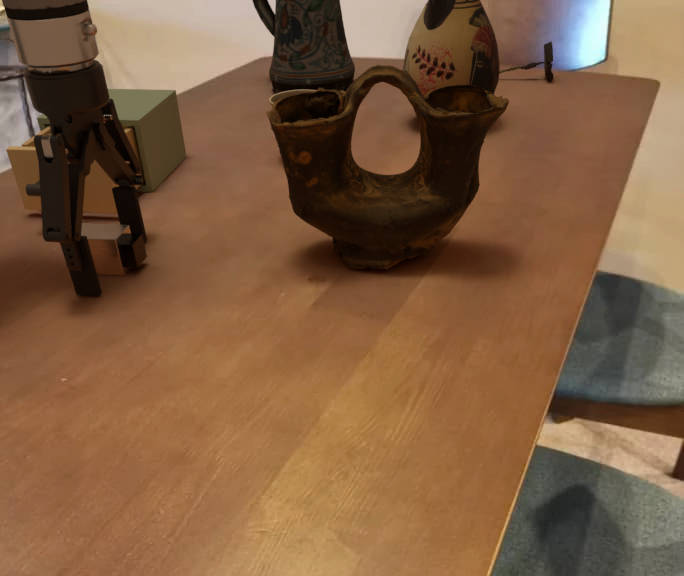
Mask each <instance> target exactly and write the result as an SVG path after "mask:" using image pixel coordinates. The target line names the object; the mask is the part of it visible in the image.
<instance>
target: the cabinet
mask: <svg viewBox="0 0 684 576" xmlns="http://www.w3.org/2000/svg"><path fill="white" fill-rule="evenodd" d="M108 92H109V99H113V101H114V104H115V108H116V111H117V115H118V118H119V120H120V123H121V125H122V126H134V127H135V132H136V137H137V142H138V147H139V152H140V156H141V161H142V166H143V171H144V176H145V181H144V182H143V184H142V185H140V186H139V187H138V188H137V189H136V191H137V192H142V193H153V192H154V191H155V190H157V188H159V186H160V185H161V184H162V183H163V182H164V181H165V180H166V179H167V178H168V177H169V176H170V175H171V174H172V173H173V172H174V170H175V169H176V168H177V167H178V166H179V165H181V163H182V162H183V161H184V160H185V159H186V158H187V152H186V146H185V137H184V133H183V132H184V131H183V126H182V121H181V114H180V109H179V102H178V97H177V91H176V89H142V88H141V89H140V88H108ZM36 120H37V123H38V127H39V130H40V131H39V132H41V131H42V130H44V129H45V128H47V127H48V126H50V123H49V119H48V118H47V117H46V116H45V115H44V114H42V113H41V115H39V116H37V117H36Z"/></svg>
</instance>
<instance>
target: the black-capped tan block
mask: <svg viewBox="0 0 684 576" xmlns="http://www.w3.org/2000/svg"><path fill="white" fill-rule="evenodd" d="M81 236H87V240H88V243H89V247H90V250H91V254H92V258H93V261H94V265H95V269H96V272H97V275H103V276H104V275H107V276H121V277H123V276H125V275H126V274H127V273H128V272H129V271H130V270H131V269H138V268H139V267H140V266H141V265H142V263H144V261H145V260H146V259H147V257H148V254H147V250H146V245H145V242H144V240H143V235H142V234H133V233H131V232H130V227H129V225H120V223H119V224H118V223H117V224H116V223H96V222H82V229H81Z"/></svg>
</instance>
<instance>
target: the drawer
mask: <svg viewBox="0 0 684 576" xmlns="http://www.w3.org/2000/svg"><path fill="white" fill-rule="evenodd" d="M122 127H123V129H124V131H125V133H126V135H127V137H128V140H129V142H130V144H131V146H132V148H133V150H134V152H135V154H136V156H137V159H138V161H139V163H140V165H141V168H142V171H141V174H136V175H142V177H143V182H144V181H145V176H144V171H143V166H142V161H141V156H140V152H139V147H138V142H137V137H136V132H135V127H134V126H122ZM49 134H50V126H48V127H47V128H45V129H44V130H42V131H39V132H38V133H36V134H35V135H49ZM35 135H34V136H35ZM34 136H32V137H30V138H29V139H27V140H26V141H24V142H23V143H21V146H19V145H18V146H17V145H15V146H14V145H11V146H9V147H7V148H6V149H5V151H6V155H7V158H8V160H9V163H10V166H11V170H12V173H13V176H14V179H15V182H16V186H17V188H18V191H19V194H20V197H21V201H22V204H23V207H24V210H27V211H41V195H40V178H39V161H38V157H37V153H36V149H35V145H34ZM125 162H126V163H130V162H129V161H125ZM68 164H70V163H69V162H68ZM139 186H140V185H135V187H136V189H137V188H138V187H139ZM113 187H119V185H116V184H115V183H114V182H113V181H112V180H111V178H110V177H109V176H108V175H107V174H106V172H105V171H104V170H103V169H102V168H101V166H100V165H99V164H98V163H97V162H96V160H94V162H93V164H91V169H90V173H89V175H87V176H86V177H85V188H84V202H83V213H93V214H95V213H96V214H115V215H116V214H117V215H118V213H117V209H116V205H115V201H114V197H113V193H112V188H113Z"/></svg>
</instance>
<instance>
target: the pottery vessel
mask: <svg viewBox="0 0 684 576" xmlns="http://www.w3.org/2000/svg"><path fill="white" fill-rule="evenodd" d="M380 83H385V84H388V85H389V86H392V87H394V88H397V89H398V90H400V91H401V93H402V95H404V96H405V97H406V98H407V97H408V99H407V101H408V100H409V101H408V102H409V103H410V105H411V106H412V109H413V111H414V114H415V116H416V119H417V123H418V128H419V135H420V136H419V137H420V145H419V153H418V156H417V158H416V161H415V162H414V163H413V165H412V166H411V167H410V168H409V169H407V170H406V171H403V172H400V173H395V174H381V173H375V172H372V171H370V170H367V169H364V168H362V167H361V166H359V165H358V164H357V162H356V161H355V159H354V156H353V152H352V139H353V132H354V127H355V122H356V118H357V114H358V111H359V108H360V106H361V104H362V103H363V101H364V100H365V98H366V97H367V96H368V94H369V93H370V91H371V89H372V88H373V87H374V86H375V85H377V84H380ZM487 93H490V94H487ZM509 104H510V100H509V98H508V97H506V98H505V97H504V98H503V95H500V96H496V95H495V94H494V95H493V94H492V93H491V92H488V91H486V90H485V89H483V88H481V87H475V86H471V85H468V84H462V85H456V86H447V87H443V88H438V89H434V90H431V91H429V92H428V93H427V94H426V95H425V96H423V95H422V93H421V91H420V89H419V87H418V85H417V83H416V82H415V81H414V79H413V78H412V77H411V75H410V74H409V73H407V72H405V71H403V69H400V68H399V67H396V66H394V65H390V64H386V65H383V64H382V65H381V64H376V65H373V66H371V67H369V68H367V69H366V70H365V71H364V72H362V73H361V74H360V75H359V76H357V78H356V79H355V80H354V82H353V83H352V84H351V85H350V87H349V88H348V89H347V91H346V92H344V91H343V90H342V91H337V90H334V89H332V90H326V89H324V88H318V90H317V91H314V92H304V93H299V94H296V95H294V96H289V97H286V98H283V99H280V100H278V101H275V102H274V103H273V107H272V106H271V109H270V110H268V111H266V116H267V118H268V120H269V124H270V130H271V131H272V132H273V135H274V138H275V141H276V144H277V148H278V150H279V155H280V157H281V161H282V165H283V170H284V173H285V177H286V180H287V186H288V187H287V188H288V198H289V201H290V204H291V209H292V211H293V213H294V214H295V216H297V217H298V218H299V219H300V220H302V221H303V222H305V223H306V224H307V225H310V226H311V227H313V228H314V229H316V230H318V231H320V232H321V233H323V234H325V235H327V236H328V237H330V238H332V245H333V246H332V247H333V248H332V254H333V255H336V254H338V253H340V252H341V254H342V258H341V260H343V261H344V262H345V263H346V265H347V266H348V267H349V268H350V269H360V270H363V269H367V268H370V269H379V270H387V271H388V270H389V269H390V268H391V267H393V266H395V265H397V264H398V263H400V262H402V261H404V260H406V259H413V258H416V257H418V256H420V255H423V256H426V255H427V254H429V253H431V252H432V251H433V250H435V246H437V245H439V243H440V242H441V241H442V240H443V239H445V237H447V236H448V235H449V234H451V232H452V231H453V229H454V228H455V227H456V225H457V224H458V223H459V222H460V220H461V219H462V217H463V216H464V215H465V213H466V211H467V210H468V208H469V207H470V205H471V204H472V202H473V201H474V200H475V198H476V195H477V194H478V191H479V189H480V185H481V184H480V174H479V172H480V171H479V167H480V158H481V157H480V156H481V152H482V147H483V145H484V143H485V139H486V137H487V134H488V132H489V131H490V129H491V128H492V127H493V126H494V124H495V123H496V121H497V120H498V119H499V118H500V117H501V116H502V115H504V113H505V112H506V110H507V109H508V105H509Z"/></svg>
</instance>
